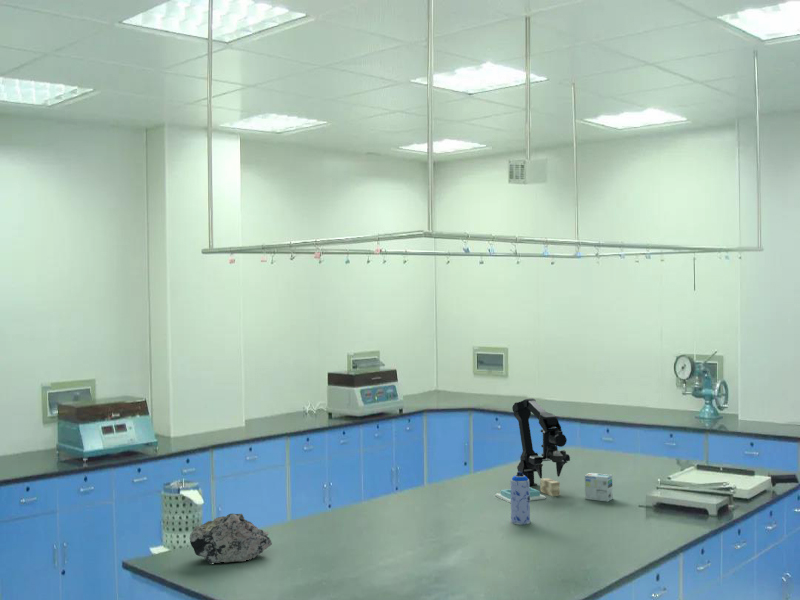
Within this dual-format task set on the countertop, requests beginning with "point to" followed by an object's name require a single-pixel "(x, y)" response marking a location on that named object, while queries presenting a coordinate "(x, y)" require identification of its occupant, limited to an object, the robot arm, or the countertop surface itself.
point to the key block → (550, 487)
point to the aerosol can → (520, 499)
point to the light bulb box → (598, 487)
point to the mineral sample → (229, 539)
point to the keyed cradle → (507, 495)
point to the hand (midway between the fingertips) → (549, 477)
